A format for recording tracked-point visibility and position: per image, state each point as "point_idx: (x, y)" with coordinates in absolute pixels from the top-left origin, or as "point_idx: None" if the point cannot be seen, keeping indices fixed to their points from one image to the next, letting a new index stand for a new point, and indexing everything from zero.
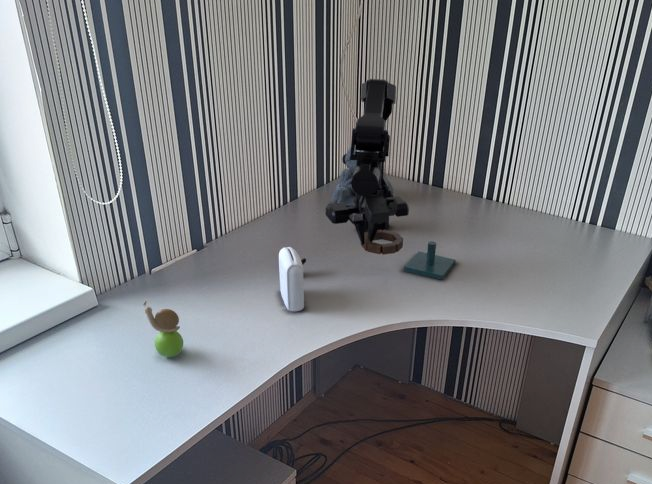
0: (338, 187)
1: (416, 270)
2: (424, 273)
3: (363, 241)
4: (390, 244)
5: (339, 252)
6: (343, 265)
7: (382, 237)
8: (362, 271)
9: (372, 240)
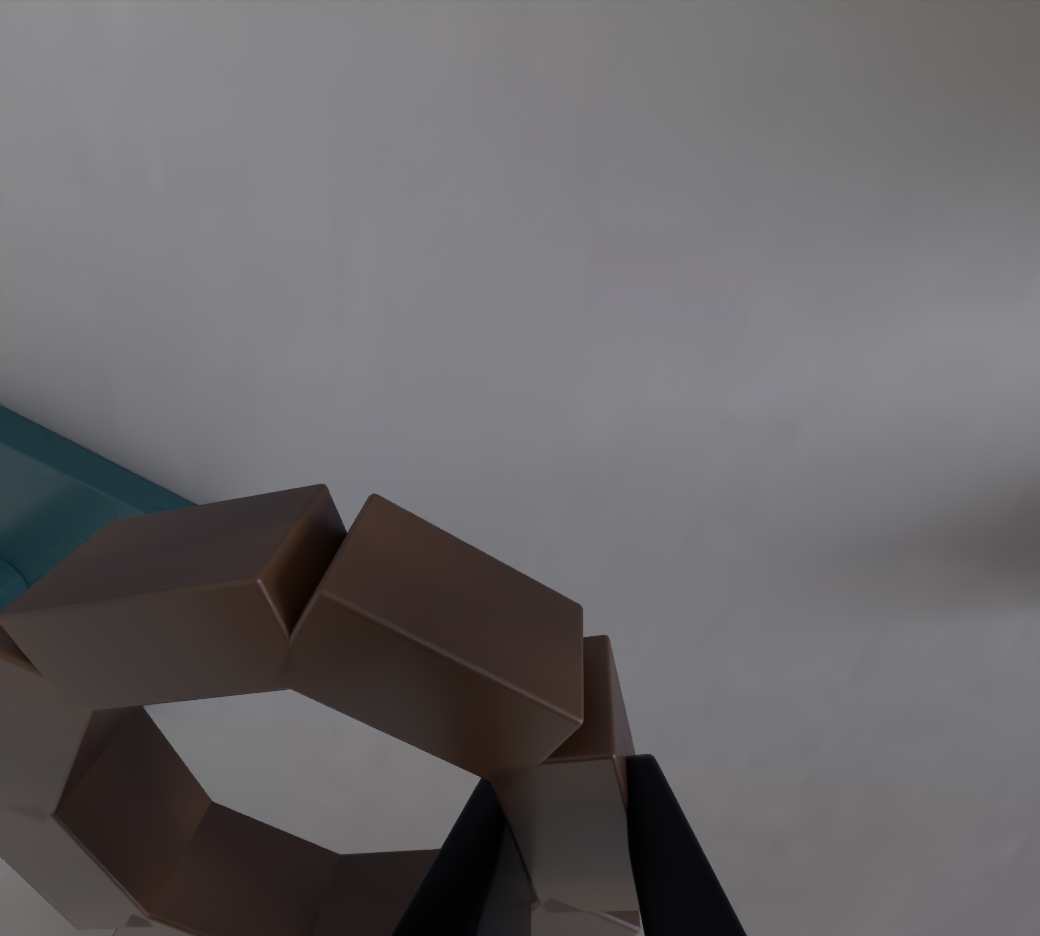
0: None
1: (97, 482)
2: (25, 436)
3: (644, 808)
4: (115, 661)
5: (703, 805)
6: (726, 652)
7: (325, 881)
8: (587, 550)
9: (466, 817)
